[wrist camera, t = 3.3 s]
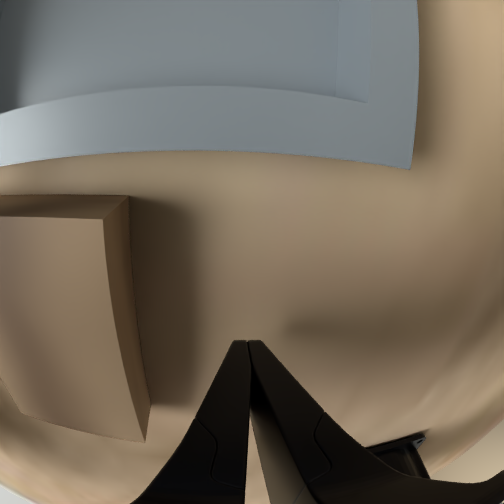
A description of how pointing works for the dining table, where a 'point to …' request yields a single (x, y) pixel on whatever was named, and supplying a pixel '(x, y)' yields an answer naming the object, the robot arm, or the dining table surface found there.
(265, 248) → the dining table surface
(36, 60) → the tray
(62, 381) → the tan cardboard box
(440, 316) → the dining table surface
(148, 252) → the dining table surface
